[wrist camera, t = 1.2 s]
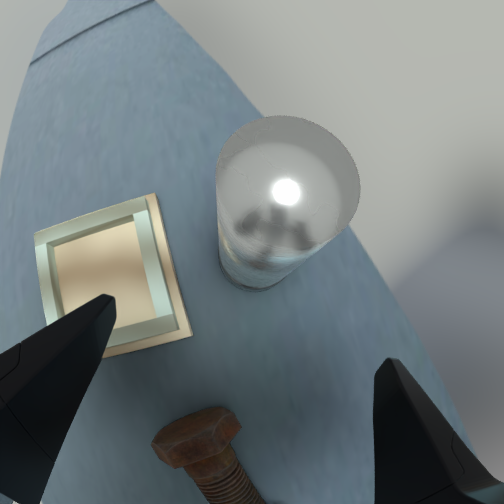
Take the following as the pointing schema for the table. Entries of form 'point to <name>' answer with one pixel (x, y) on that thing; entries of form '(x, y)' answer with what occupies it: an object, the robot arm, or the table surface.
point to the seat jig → (115, 273)
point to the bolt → (208, 455)
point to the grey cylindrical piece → (280, 198)
